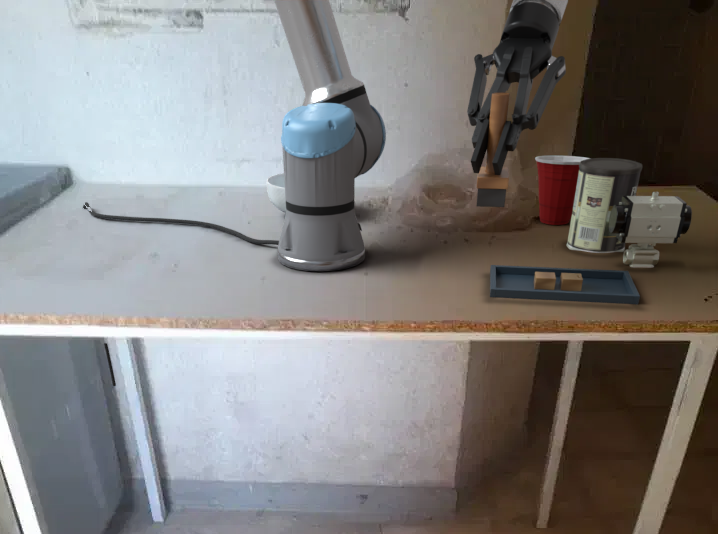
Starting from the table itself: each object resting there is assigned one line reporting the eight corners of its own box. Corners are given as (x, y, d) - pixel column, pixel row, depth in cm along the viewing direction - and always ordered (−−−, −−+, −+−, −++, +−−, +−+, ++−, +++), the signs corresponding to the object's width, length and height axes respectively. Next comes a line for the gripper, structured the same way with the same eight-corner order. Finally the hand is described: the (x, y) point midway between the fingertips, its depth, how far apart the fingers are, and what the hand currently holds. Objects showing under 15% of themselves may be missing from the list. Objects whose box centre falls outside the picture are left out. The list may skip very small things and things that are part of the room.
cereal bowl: (333, 229, 143) (333, 190, 139) (255, 222, 147) (253, 185, 143) (358, 207, 156) (359, 172, 152) (286, 202, 161) (284, 168, 156)
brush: (474, 206, 105) (484, 97, 97) (476, 194, 111) (484, 90, 103) (505, 207, 105) (517, 97, 97) (505, 195, 111) (516, 90, 103)
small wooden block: (560, 290, 112) (562, 279, 111) (559, 283, 115) (561, 272, 114) (580, 291, 112) (583, 279, 111) (579, 284, 114) (581, 273, 113)
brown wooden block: (534, 289, 113) (536, 277, 112) (533, 282, 115) (535, 271, 114) (554, 290, 113) (556, 278, 112) (552, 283, 115) (554, 272, 114)
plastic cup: (582, 215, 150) (593, 151, 143) (582, 230, 141) (594, 163, 134) (528, 212, 152) (536, 149, 145) (525, 226, 143) (534, 160, 136)
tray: (489, 300, 111) (490, 289, 110) (489, 275, 120) (490, 264, 119) (637, 308, 108) (640, 296, 107) (625, 281, 117) (628, 270, 116)
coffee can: (621, 240, 135) (638, 158, 127) (627, 257, 127) (646, 170, 119) (564, 237, 137) (577, 156, 129) (566, 254, 129) (581, 168, 121)
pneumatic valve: (600, 262, 125) (614, 188, 118) (670, 263, 124) (688, 188, 117) (607, 273, 121) (623, 196, 114) (679, 274, 120) (700, 197, 113)
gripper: (589, 42, 105) (542, 189, 103) (486, 40, 111) (439, 179, 109) (588, -2, 98) (537, 155, 96) (477, -1, 104) (427, 146, 102)
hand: (485, 167), depth 102 cm, fingers closed on brush, 2 cm apart
